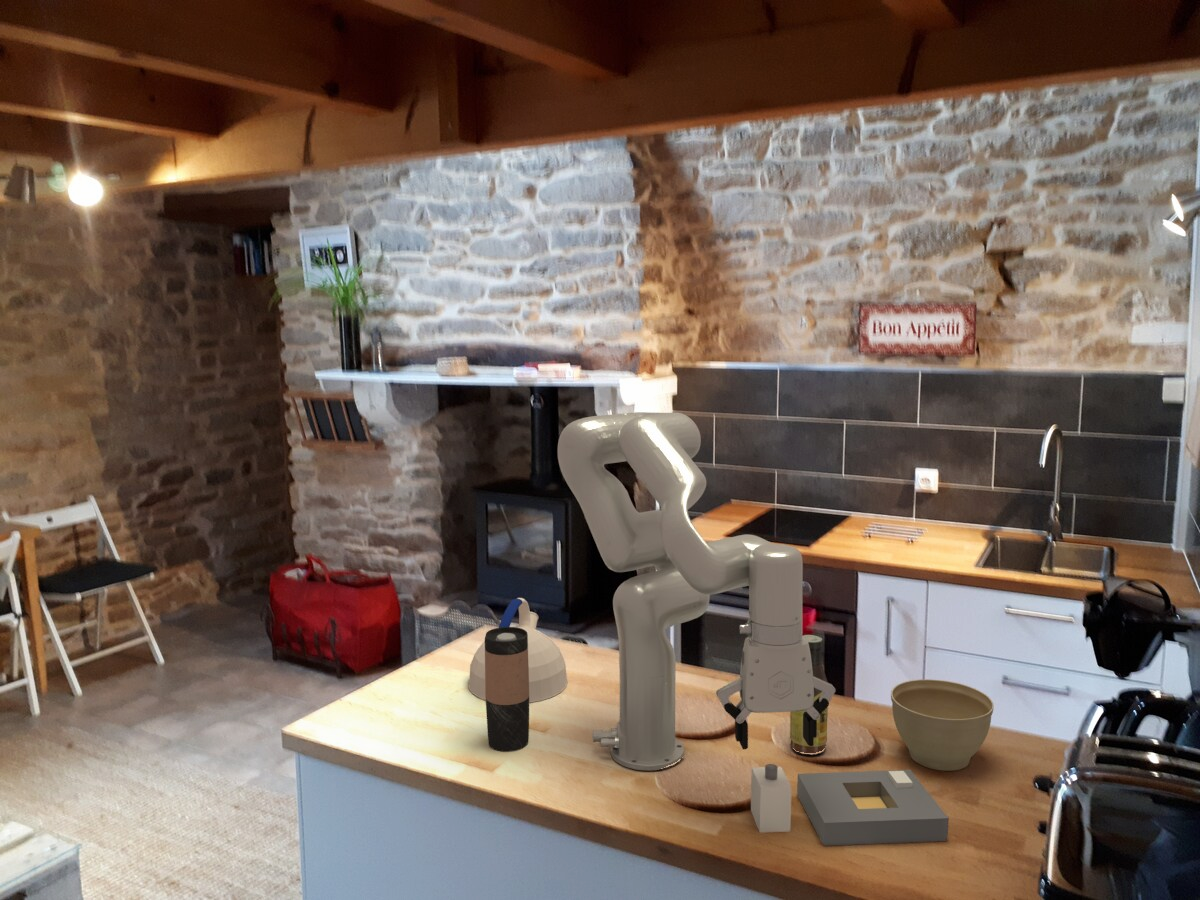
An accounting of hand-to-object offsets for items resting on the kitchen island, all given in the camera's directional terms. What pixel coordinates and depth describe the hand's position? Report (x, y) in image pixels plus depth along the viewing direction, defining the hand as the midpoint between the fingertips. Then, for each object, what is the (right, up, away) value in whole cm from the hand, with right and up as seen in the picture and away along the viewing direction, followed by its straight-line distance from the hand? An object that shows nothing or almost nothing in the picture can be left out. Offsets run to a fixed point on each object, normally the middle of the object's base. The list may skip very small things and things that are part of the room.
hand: (775, 743), depth 135 cm
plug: (0, -12, +2) cm, 13 cm away
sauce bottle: (+10, -9, +25) cm, 28 cm away
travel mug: (-42, -9, +28) cm, 51 cm away
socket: (+15, -12, +3) cm, 19 cm away
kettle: (-42, -5, +54) cm, 69 cm away
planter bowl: (+32, -9, +21) cm, 39 cm away
